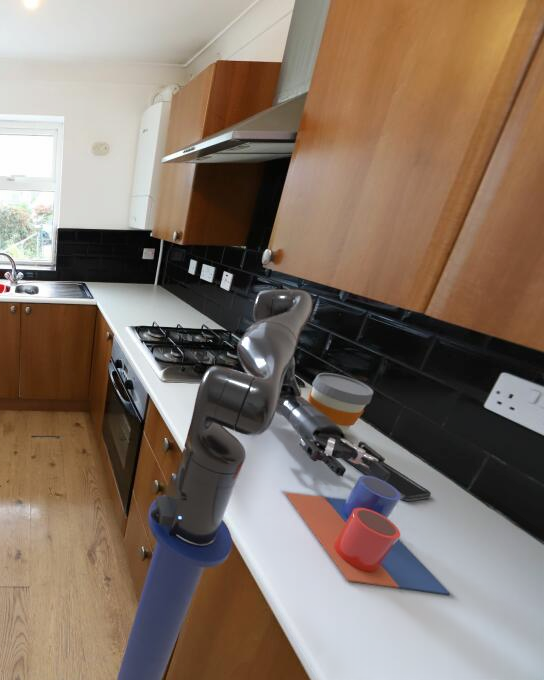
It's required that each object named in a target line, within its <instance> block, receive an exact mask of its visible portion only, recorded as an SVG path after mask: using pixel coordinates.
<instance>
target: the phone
mask: <svg viewBox="0 0 544 680" xmlns="http://www.w3.org/2000/svg"><path fill="white" fill-rule="evenodd" d="M357 456H358V454H357V452H356V451H355V450H354V454H353V456H352V457H353V458H356V457H357ZM343 460H345V461H346V462H347V463H349V464H350V465H352V466H353V467H355V468H356V469H357V470H358V471H360V472H361V473H363V474H364V475H366V476H372V477H375V478H378V477H377V476H375V475H374V474H373V473H372V472H371V471H370V470H369V468H367V467H365V466H363V465H361V464H355V463H353V462H351V461H349V460H347V459H343ZM362 460H363V461H365V462H367V463H368V461H367V460H366V459H364V458H362ZM382 466H383V467H384V468H385V469H386V470H387V471H388V472H390V477H389V479H388V480H387V481H385V482H386V483H388V484H390V485H391V486H393V487H394V488H395V489H396V490H397V491H398V492H399V493H400V495H401V499H400V500H402V501H405V502H415V501H421V500H427V499H429V498H430V497H431V495H432V493H431V492H430V491H429V490H428V489H427V488H425V487H424V486H422V485H420V484H418V483H417V482H416V481H414V480H413V479H411V478H409V477H408V476H406V475H405V474H403V473H401V472H400V471H399V470H398V469H396V468H394V467H392V466H391V465H389V464H388V463H386V462H385V461H384V462H383V463H382ZM378 479H379V478H378Z"/></svg>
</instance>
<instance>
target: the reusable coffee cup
mask: <svg viewBox="0 0 544 680" xmlns="http://www.w3.org/2000/svg"><path fill="white" fill-rule="evenodd" d="M311 385H312V389H311V391H309V392H308V393H309V394H308V399H307V401H308V402H309V403H310V404H312V405H313V406H314V407H315V408H316V409H318V410H319V411H321V412H322V413H323V414H325V415H326V416H327V417H328V418H329V419H330V420H331V421H333V422H334V423H335V424H336V425H337V426H338V427H339V428H341V429H342V431H343V433H344V435H345V434H346V432H347V431H348V430H349V428H351V426H353V425H355V424H356V423H357V421H358V420H359V419H360V417H361V416H362V415H363V413H364V412H365V408H366V406H367V405H370V403H371V401H372V398H373V395H374V390H373V389H372V388H371V387H370V386H368V385H367V384H366V383H364V382H362V381H360V380H357V379H354V378H352V377H350V376H349V377H348V376H345V375H342V374H338V373H331V372H321V373H318V374H317V375H316V376H315V378H314V379H313V381H312V384H311Z"/></svg>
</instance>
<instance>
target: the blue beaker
mask: <svg viewBox="0 0 544 680" xmlns="http://www.w3.org/2000/svg"><path fill="white" fill-rule="evenodd" d="M345 500H346V502H345V504H344V505H343V507H342V513H343V515H344V516H345V517H346V518H347V519H348V518H349V517H350V515H351V513H352V511H353V510H354V509H355V508H366V509H369V510H372V511H375V512H377V513H379V514H381V515H383V516H384V517H386V518H387V519H389V517H391V514H392V513H393V511H394V510H395V508H396V507H397V505H398V503H399V502H400V500H402V499H401V495H400V493H399V492H398V491H397V490H396V489H395V488H394V487H393V486H391V485H390V484H388V483H386V482H385V481H383V480H380V479H378V478H375V477H372V476H367V475H366V474H364V475H360V476H358V479H357V480H356V482H355V484H354V486H353V487H352V489H351V491H350V493H349V494H348V496H347V498H346V499H345Z"/></svg>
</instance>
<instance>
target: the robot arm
mask: <svg viewBox="0 0 544 680" xmlns="http://www.w3.org/2000/svg"><path fill="white" fill-rule="evenodd" d="M313 304H314V303H313V299H312V296H311V295H310V294H309V292H307V291H305V290H301V289H280V288H279V289H276V288H275V289H273V288H272V289H262V290H260V291H259V292H258V293H257V295H256V297H255V300H254V305H253V321H254V323H252V324H251V325H250V326H248V328H247V329H246V330H245V332H244V333H243V335H242V336H241V338H240V339H239V341H238V343H237V348H236V354H237V359H238V361H239V363H240V365H241V367H242V368H243V370H244V372H242V371H239V370H236V369H233V368H230V367H226V366H223V365H219V364H218V365H217V364H214V365H212V366H210V367H209V368H208V369H207V370H206V371H205V372H204V374H203V375H202V377H201V380H200V381H199V382H200V383H199V385H198V388H197V391H196V396H195V400H194V406H193V410H192V416H191V420H190V423H189V428H188V431H187V434H186V438H185V442H184V446H183V450H182V453H181V456H180V460H179V463H178V466H177V470H176V473H171V475H170V477H169V481H168V485H167V489H166V492H165V494H164V495H165V496H163V495H156V498H155V500H156V501H155V500H154V501H155V507H156V508H155V509H153V510H152V511H151V517H152V519H153V520H154V521H155V522H156V523H160V525H164V526H167V530H168V533H169V535H170V536H175V537H177V538H178V539H179V540H181V541H183V542H185V543H187V544H189V545H192V546H196V547H206V546H209V545H211V544H212V543H213V542H214V541H215V539H216V536H217V532H218V529H219V526H220V524H221V521H222V520H223V518H224V515H225V513H226V511H227V508H228V505H229V503H230V500H231V497H232V495H233V492H234V490H235V487H236V484H237V481H238V479H239V476H240V474H241V471H242V469H243V466H244V464H245V461H246V456H247V455H246V448H245V447H244V445H243V444H242V442H241V441H240V440H239V439H238V438H237V437H236V436H235V435H233V434H232V433H231V432H230V431H229V430H231V431H233V432H236V433H239V434H242V435H244V436H249V437H258V436H261V435H263V434H264V433H265V432H266V431H267V430H268V428H270V426H271V424H272V422H273V420H274V418H275V415H276V414H278V415H280V416H282V417H284V419H285V420H286V421H287V422H288V423H289V424H290V426H291V427H292V429H293V430H294V431H295V432H296V433H297V434H298V435H299V436H300V440H299V442H298V445H299V447H300V448H301V449H302V450H303V452H304V453H305V454H306V455H307V456H308V458H309V459H310V460H312V461H313V462H318V461H320V463H322V464H324V465H325V466H327V467H328V468H329V470H331V472H333V473H334V474H335V475H336V476H337V477H344V475H345V473H346V471H347V469H346V467H345V466H344V465H343V464H342V463H341V461H339V460H338V459H343V460H344V459H347V460H349V461H351V462H353V463H355V464H361V465H363V466H365V467H367V468H369V470H370V471H371V472H372V473H373V474H374V475H375V476H377V477H378V478H379V479H380V480H383V481H387V480H388V479H389V477H390V472H388V471H387V470H386V469H385V468H384V467H383V466H382V463H383V462H384V463H385V460H386V458H385V457H384V456H383V455H382V454H380V453H378V452H377V451H376V450H375V449H373V448H372V447H371V446H370V445H368V443H366V442H364V441H359V442H358V443H354V442H351V441H349V439H347V438H346V436H345V434H344V433H343V431H342V429H341V428H339V427H338V426H337V425H336V424H335V423H334V422H333V421H331V420H330V419H329V418H328V417H327V416H326V415H325V414H323V413H322V412H321V411H319V410H318V409H316V408H315V407H314V406H313V405H312V404H310V403H309V402H308V399H306V398H304V397H303V396H302V389H301V387H300V385H299V383H298V381H297V379H296V374H295V371H296V369H295V368H296V360H295V354H296V351H297V348H298V344H299V340H300V336H301V334H302V333H303V331H304V330H305V328H306V326H307V325H308V323H309V321H310V318H311V316H312V312H313ZM227 429H229V430H227ZM354 450H355V451H356V452H357V454H358V456H357V457H356V458H353V457H352V456H353V454H354ZM362 458H364V459H366V460H367V461H368V463H367V462H365V461H363V460H362ZM156 515H158V516H156Z"/></svg>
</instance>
